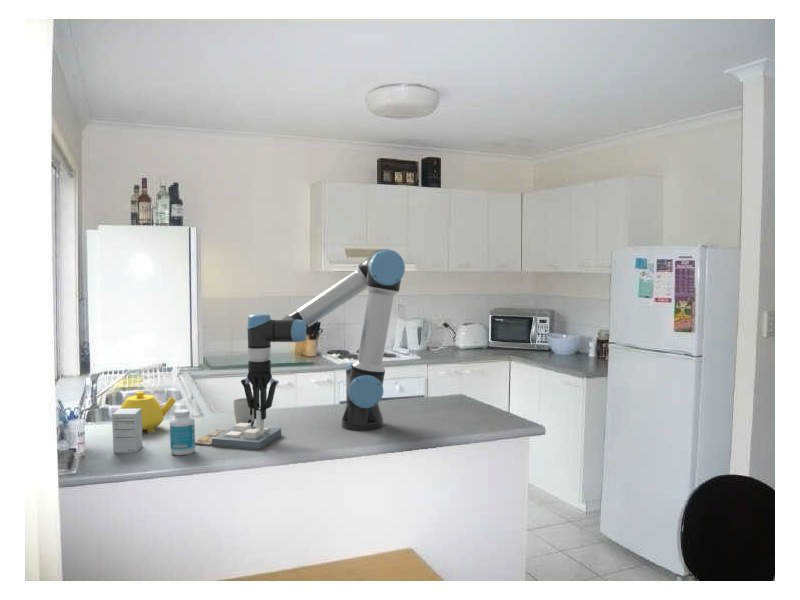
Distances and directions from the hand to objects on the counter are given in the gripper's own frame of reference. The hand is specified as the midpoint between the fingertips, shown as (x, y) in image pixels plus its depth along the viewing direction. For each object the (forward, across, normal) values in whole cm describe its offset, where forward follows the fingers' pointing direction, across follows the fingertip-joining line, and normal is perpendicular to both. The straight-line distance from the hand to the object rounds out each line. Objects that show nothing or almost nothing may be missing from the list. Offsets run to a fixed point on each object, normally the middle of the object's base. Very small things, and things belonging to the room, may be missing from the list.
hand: (260, 428), depth 235 cm
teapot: (+4, +44, -2) cm, 44 cm away
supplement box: (+4, +36, +21) cm, 42 cm away
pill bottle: (+4, +17, +20) cm, 27 cm away
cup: (+4, +11, -12) cm, 17 cm away
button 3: (+2, 0, +7) cm, 7 cm away
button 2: (+2, +7, 0) cm, 7 cm away
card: (+4, +16, +3) cm, 16 cm away
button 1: (+3, +7, +7) cm, 10 cm away
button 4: (+3, 0, 0) cm, 3 cm away
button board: (+4, +3, +3) cm, 6 cm away
